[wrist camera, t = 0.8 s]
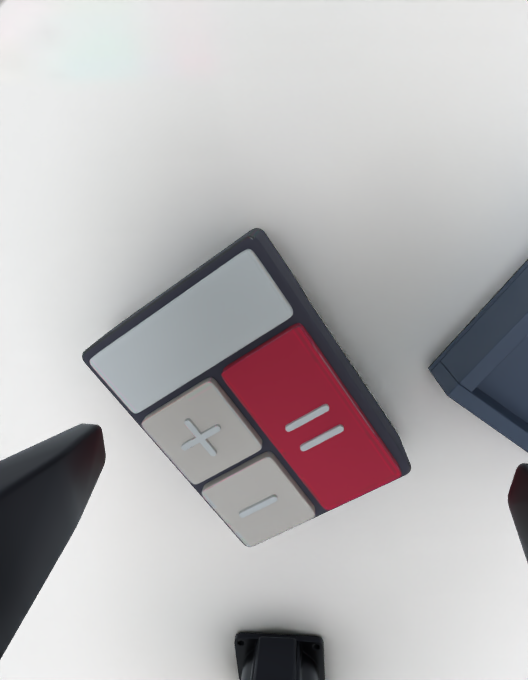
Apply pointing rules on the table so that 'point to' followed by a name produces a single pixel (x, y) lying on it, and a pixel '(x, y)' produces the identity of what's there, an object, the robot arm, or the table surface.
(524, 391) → the tray
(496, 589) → the table surface
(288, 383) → the calculator
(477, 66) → the table surface
